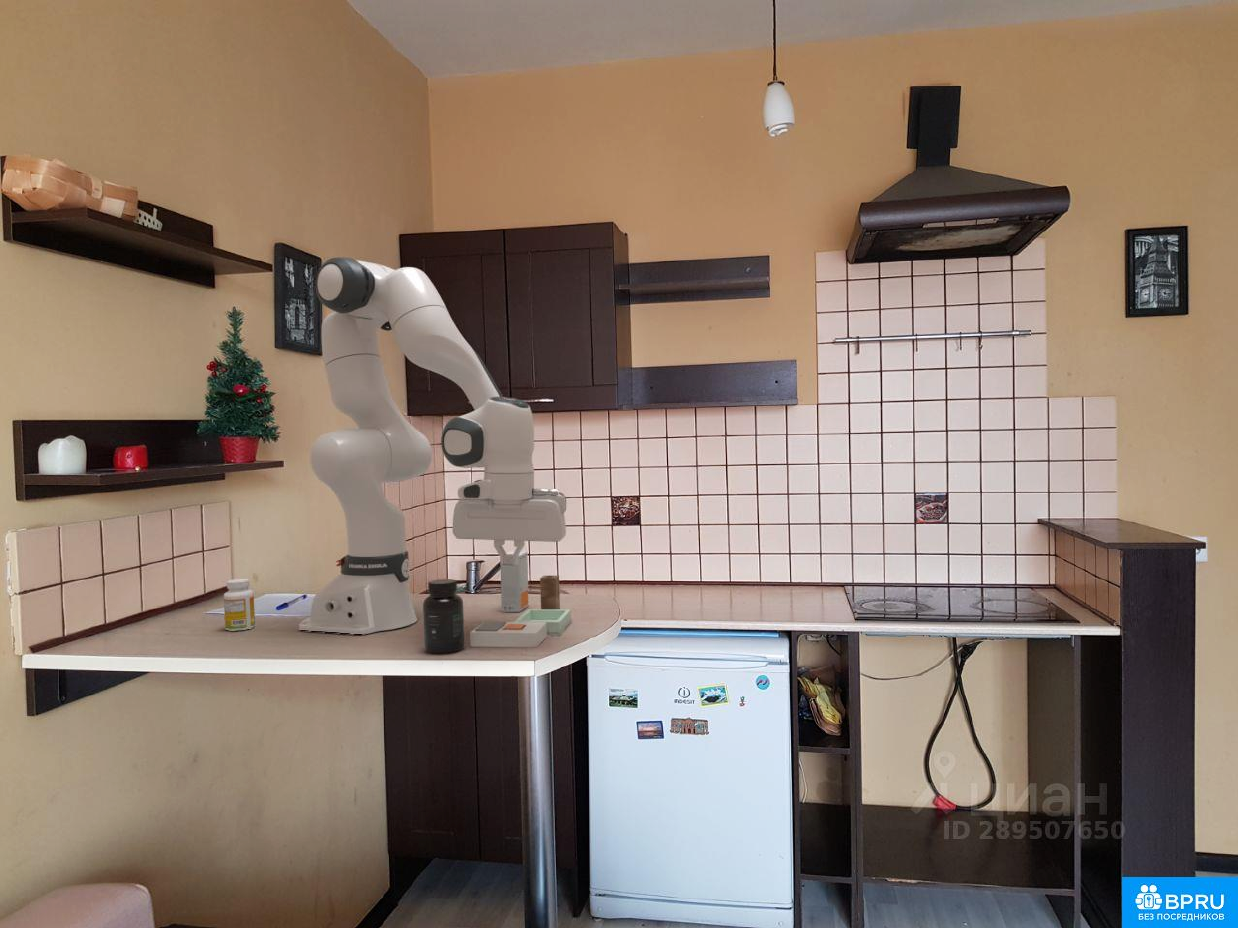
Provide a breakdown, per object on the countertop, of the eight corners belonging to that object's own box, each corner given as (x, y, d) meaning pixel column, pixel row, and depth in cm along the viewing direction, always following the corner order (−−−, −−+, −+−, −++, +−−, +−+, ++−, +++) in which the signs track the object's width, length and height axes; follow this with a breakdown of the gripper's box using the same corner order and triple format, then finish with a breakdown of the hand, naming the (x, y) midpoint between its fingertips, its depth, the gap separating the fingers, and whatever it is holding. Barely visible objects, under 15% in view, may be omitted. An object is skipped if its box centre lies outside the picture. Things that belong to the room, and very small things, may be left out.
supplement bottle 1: (244, 624, 167) (242, 576, 166) (261, 627, 164) (258, 578, 164) (219, 630, 162) (217, 581, 162) (236, 633, 159) (234, 583, 159)
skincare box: (520, 612, 171) (518, 555, 171) (501, 612, 172) (499, 555, 172) (529, 606, 177) (527, 551, 177) (510, 605, 178) (509, 550, 178)
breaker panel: (470, 646, 145) (469, 630, 145) (484, 635, 153) (483, 620, 153) (536, 647, 143) (536, 631, 143) (547, 635, 151) (546, 620, 151)
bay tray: (514, 635, 152) (513, 621, 152) (528, 621, 163) (528, 609, 163) (559, 635, 151) (559, 622, 151) (571, 621, 162) (570, 609, 162)
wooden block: (541, 617, 166) (540, 577, 166) (544, 614, 169) (543, 574, 169) (556, 617, 166) (555, 577, 165) (560, 614, 169) (558, 574, 169)
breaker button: (504, 640, 147) (504, 627, 147) (509, 635, 150) (508, 623, 150) (520, 640, 146) (520, 628, 146) (525, 636, 149) (524, 624, 149)
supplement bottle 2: (416, 651, 142) (413, 583, 142) (443, 642, 148) (441, 576, 148) (445, 656, 139) (443, 586, 138) (472, 646, 145) (470, 579, 144)
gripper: (569, 487, 149) (569, 563, 149) (460, 485, 151) (461, 559, 152) (562, 491, 142) (562, 570, 143) (449, 488, 145) (449, 566, 146)
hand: (509, 564), depth 148 cm, fingers closed
